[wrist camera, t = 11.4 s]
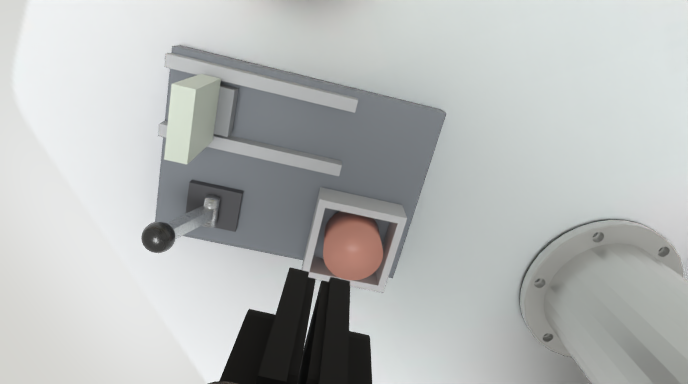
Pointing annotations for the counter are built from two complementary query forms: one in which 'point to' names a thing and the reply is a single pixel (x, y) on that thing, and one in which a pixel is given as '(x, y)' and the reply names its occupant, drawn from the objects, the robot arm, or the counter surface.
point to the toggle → (180, 226)
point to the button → (352, 246)
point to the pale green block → (198, 116)
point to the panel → (300, 163)
